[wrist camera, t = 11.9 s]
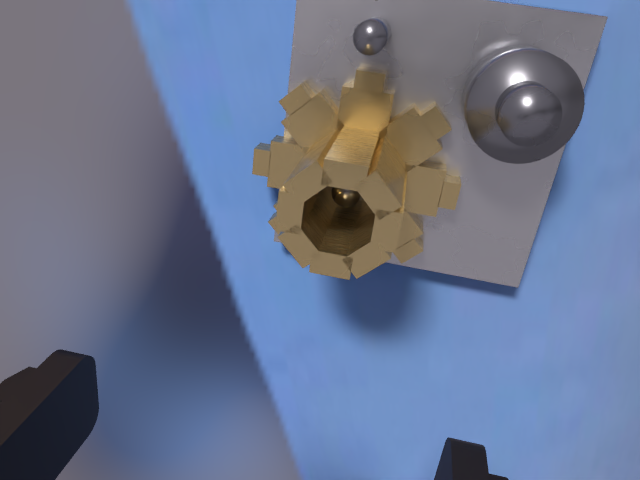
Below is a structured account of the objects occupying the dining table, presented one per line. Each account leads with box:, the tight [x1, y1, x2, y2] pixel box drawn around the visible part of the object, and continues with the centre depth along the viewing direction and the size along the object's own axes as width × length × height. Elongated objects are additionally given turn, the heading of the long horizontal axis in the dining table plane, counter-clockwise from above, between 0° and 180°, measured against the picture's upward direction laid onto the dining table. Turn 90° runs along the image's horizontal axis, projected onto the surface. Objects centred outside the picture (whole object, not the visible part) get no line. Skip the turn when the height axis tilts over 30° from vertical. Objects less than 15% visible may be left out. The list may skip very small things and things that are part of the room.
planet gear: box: [252, 67, 461, 280], centre depth 25 cm, size 11×11×7 cm
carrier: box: [274, 0, 608, 287], centre depth 26 cm, size 14×14×6 cm
